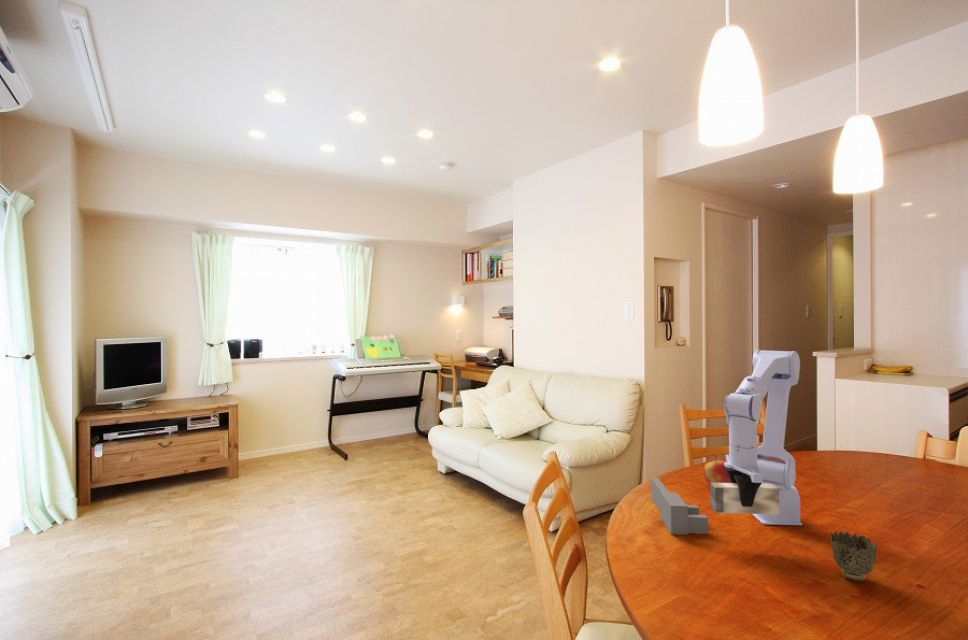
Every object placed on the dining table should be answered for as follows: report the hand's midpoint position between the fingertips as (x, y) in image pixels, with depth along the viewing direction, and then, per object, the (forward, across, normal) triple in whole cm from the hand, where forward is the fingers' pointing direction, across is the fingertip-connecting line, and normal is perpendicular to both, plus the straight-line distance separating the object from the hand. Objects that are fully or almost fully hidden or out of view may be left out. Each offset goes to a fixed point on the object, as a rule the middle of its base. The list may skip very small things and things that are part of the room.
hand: (743, 503), depth 110 cm
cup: (+10, +14, +15) cm, 23 cm away
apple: (+10, -36, +8) cm, 38 cm away
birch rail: (+2, 0, 0) cm, 2 cm away
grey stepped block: (+9, -15, -11) cm, 21 cm away
